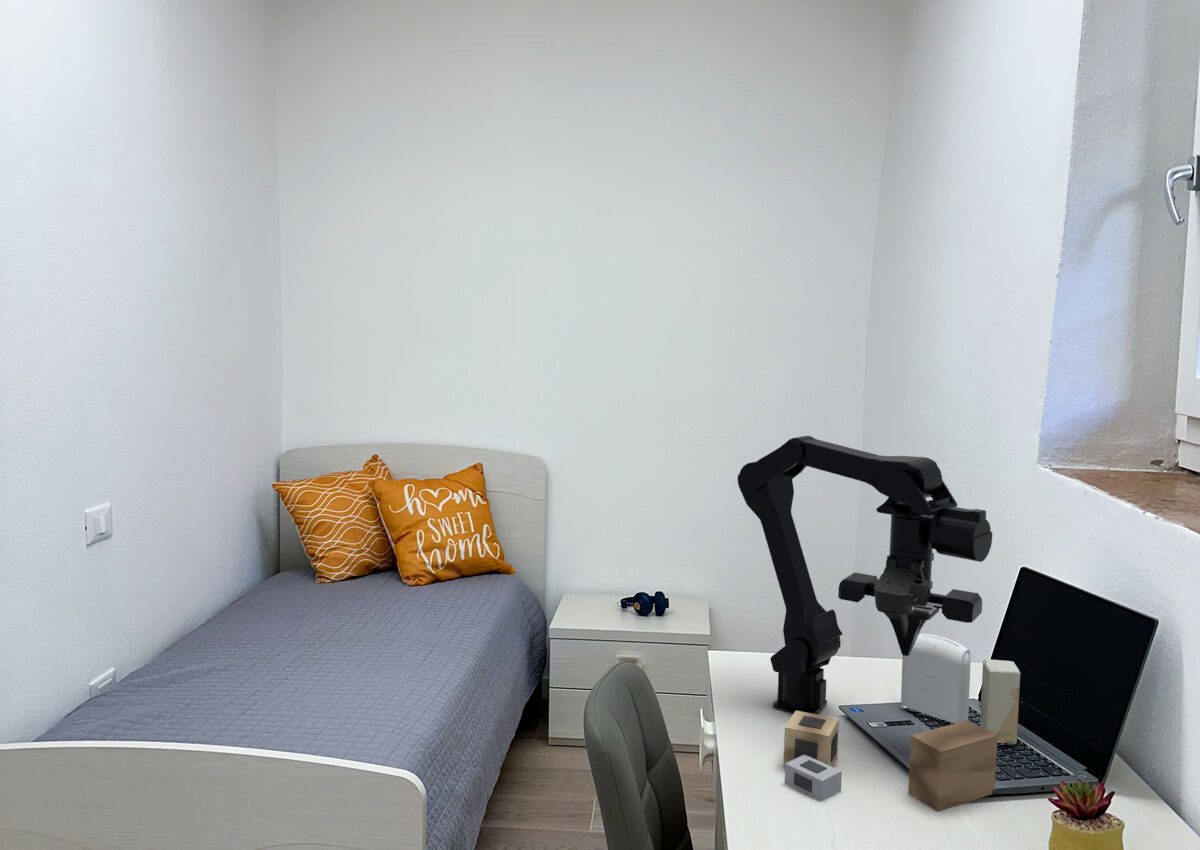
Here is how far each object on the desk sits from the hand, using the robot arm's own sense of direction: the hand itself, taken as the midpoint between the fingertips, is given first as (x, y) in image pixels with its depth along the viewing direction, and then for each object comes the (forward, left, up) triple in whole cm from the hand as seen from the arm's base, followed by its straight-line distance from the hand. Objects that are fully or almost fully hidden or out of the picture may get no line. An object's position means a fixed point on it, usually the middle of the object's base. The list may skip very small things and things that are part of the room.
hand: (906, 654), depth 140 cm
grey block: (-5, -20, -13) cm, 24 cm away
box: (+11, +9, -13) cm, 19 cm away
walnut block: (+10, -11, -13) cm, 20 cm away
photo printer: (+1, +12, -13) cm, 18 cm away
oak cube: (-8, -14, -13) cm, 21 cm away
